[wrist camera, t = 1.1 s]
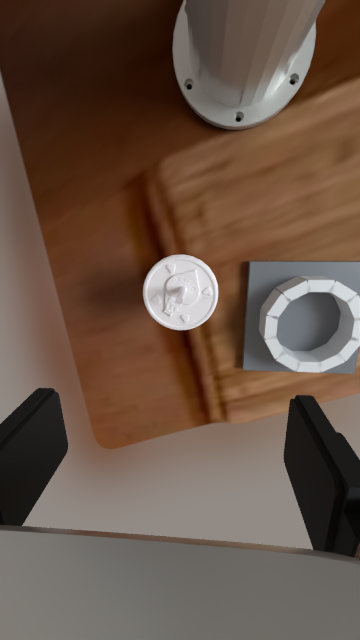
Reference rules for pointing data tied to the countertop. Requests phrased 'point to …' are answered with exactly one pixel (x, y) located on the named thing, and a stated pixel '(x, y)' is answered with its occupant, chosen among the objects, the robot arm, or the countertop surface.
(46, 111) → the countertop surface
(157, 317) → the smoothie
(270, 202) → the countertop surface
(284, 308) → the holder
